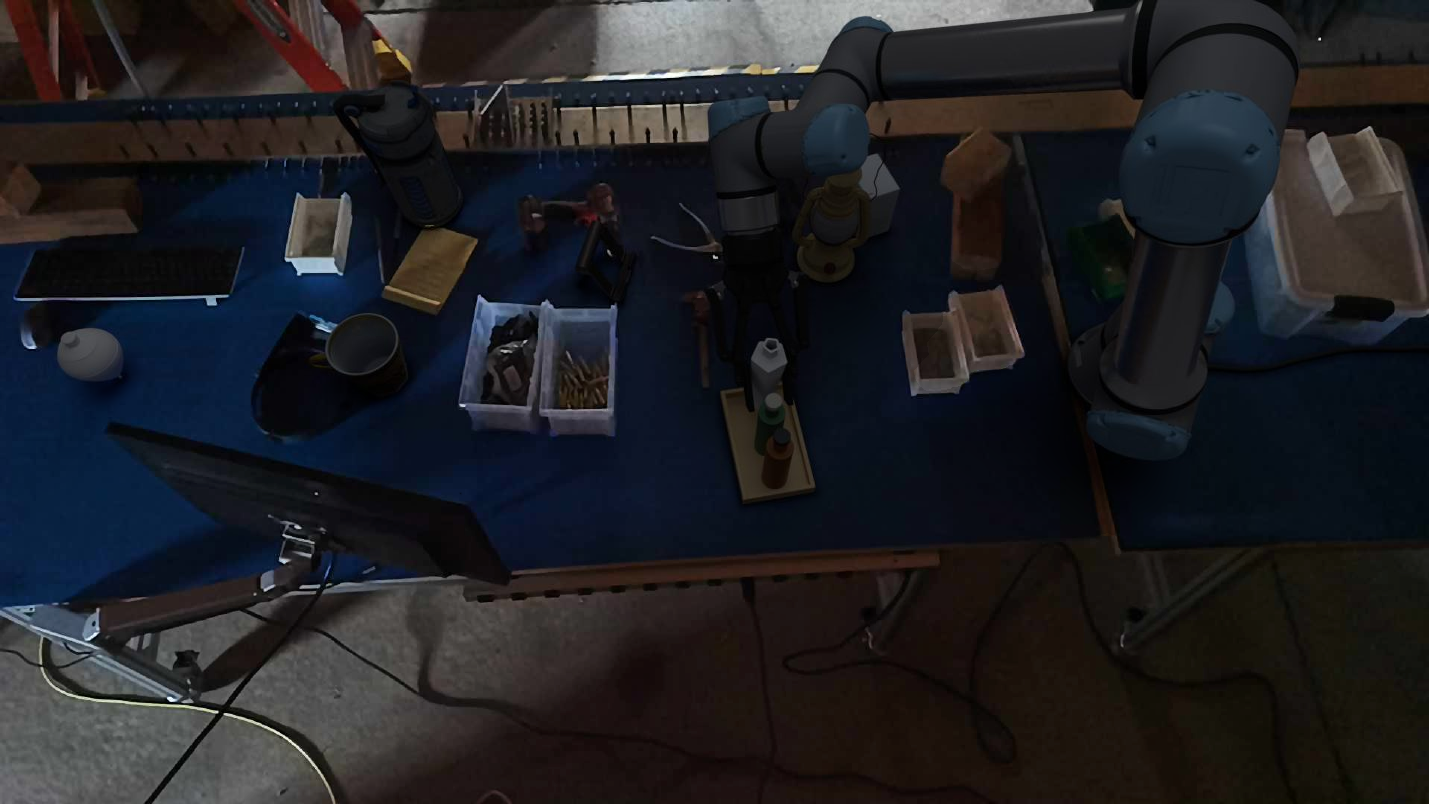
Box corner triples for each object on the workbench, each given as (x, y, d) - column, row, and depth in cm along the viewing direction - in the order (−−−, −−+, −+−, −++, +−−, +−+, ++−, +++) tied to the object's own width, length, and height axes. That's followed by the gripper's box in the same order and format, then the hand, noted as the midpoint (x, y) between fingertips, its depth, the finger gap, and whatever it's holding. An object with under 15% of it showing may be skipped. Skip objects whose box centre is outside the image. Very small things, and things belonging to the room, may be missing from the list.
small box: (888, 232, 141) (901, 189, 131) (857, 242, 140) (868, 200, 130) (867, 195, 144) (878, 151, 135) (836, 205, 143) (845, 161, 134)
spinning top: (90, 404, 126) (32, 365, 115) (98, 359, 129) (42, 317, 119) (144, 397, 127) (92, 357, 116) (151, 352, 130) (100, 309, 119)
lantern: (788, 285, 136) (808, 152, 109) (787, 234, 140) (806, 94, 113) (864, 287, 136) (903, 154, 109) (861, 236, 140) (897, 96, 113)
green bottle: (776, 431, 124) (784, 385, 111) (781, 454, 123) (790, 410, 110) (752, 435, 124) (757, 390, 111) (757, 458, 122) (763, 415, 109)
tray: (787, 386, 128) (788, 379, 126) (814, 492, 121) (815, 487, 119) (720, 397, 127) (720, 390, 125) (742, 504, 120) (743, 499, 118)
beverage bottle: (389, 186, 144) (330, 68, 122) (469, 179, 145) (425, 61, 122) (386, 235, 140) (324, 122, 117) (468, 228, 140) (422, 115, 118)
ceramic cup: (415, 341, 131) (393, 305, 122) (424, 397, 127) (402, 365, 118) (328, 362, 129) (299, 327, 120) (334, 420, 125) (305, 388, 116)
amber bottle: (784, 463, 122) (793, 420, 109) (789, 487, 121) (799, 446, 108) (759, 467, 122) (765, 425, 109) (764, 491, 120) (771, 451, 107)
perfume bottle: (784, 397, 121) (797, 343, 108) (764, 417, 119) (775, 366, 106) (759, 377, 122) (769, 322, 109) (739, 397, 121) (747, 344, 107)
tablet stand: (622, 305, 134) (617, 274, 127) (574, 295, 135) (566, 264, 127) (636, 259, 138) (632, 226, 130) (589, 250, 139) (582, 217, 131)
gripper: (812, 216, 111) (826, 386, 119) (677, 235, 110) (701, 407, 117) (827, 223, 104) (841, 403, 112) (683, 244, 102) (708, 425, 110)
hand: (769, 405), depth 115 cm, fingers closed on perfume bottle, 4 cm apart
